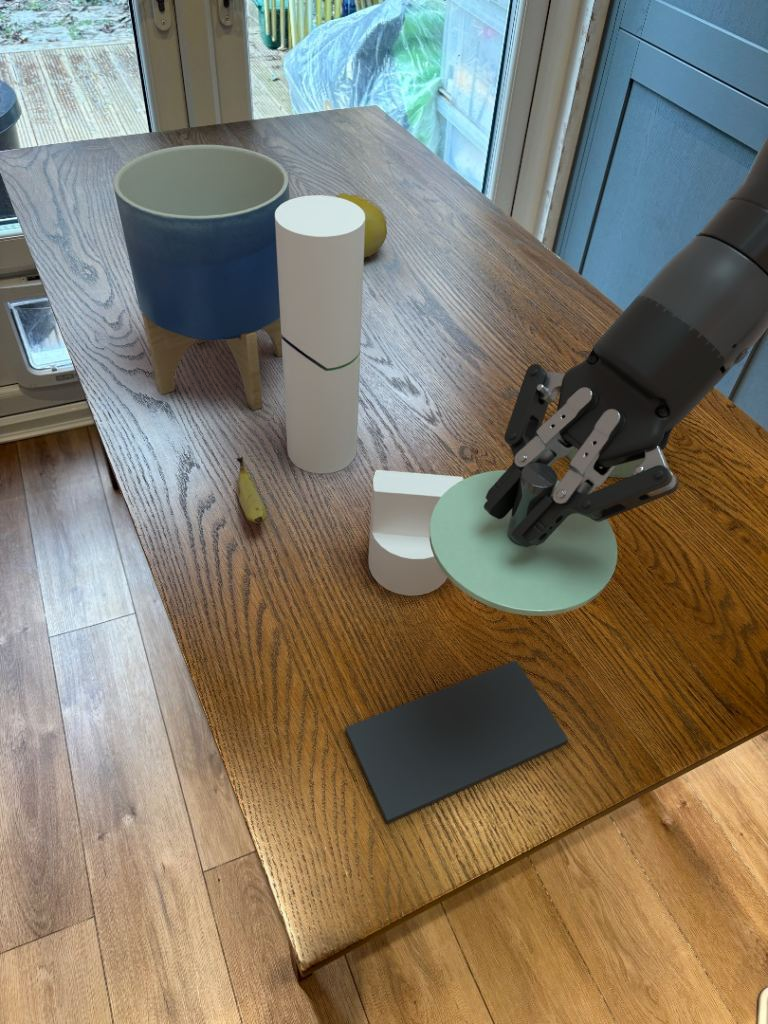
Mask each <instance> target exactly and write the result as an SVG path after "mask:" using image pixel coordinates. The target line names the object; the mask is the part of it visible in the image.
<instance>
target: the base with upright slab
mask: <svg viewBox="0 0 768 1024" xmlns="http://www.w3.org/2000/svg"><path fill="white" fill-rule="evenodd" d="M373 475H374V476H373V479H372V490H371V509H370V521H369V522H370V523H369V524H370V525H369V541H368V555H367V556H368V557H367V562H368V569H369V572H370V574H371V576H372V577H373V579H374V580H375V581H376V582H377V584H378V585H380V586H382V587H383V588H384V589H386V590H387V591H390V592H392V593H394V594H397V595H403V596H408V597H409V596H410V597H411V596H413V597H414V596H422V595H427V594H431V593H432V592H434V591H436V590H438V589H439V588H440V587H441V586H442V585H443V584H444V583H446V581H447V579H448V577H447V576H446V575H445V574H444V572H443V571H442V570H441V568H440V567H439V565H438V563H437V561H436V559H435V558H434V555H433V552H432V549H431V545H430V540H429V527H430V520H431V515H432V513H433V510H434V507H435V506H436V504H437V502H438V500H439V499H440V498H441V497H442V495H443V494H444V493H445V492H446V491H447V490H449V489H450V488H451V487H452V486H454V485H455V484H457V483H458V482H460V481H462V480H464V479H465V478H464V477H463V476H456V475H444V474H433V473H420V472H409V471H397V470H386V469H385V470H383V469H376V470H375V472H374V474H373Z"/></svg>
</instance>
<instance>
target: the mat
mask: <svg viewBox="0 0 768 1024" xmlns="http://www.w3.org/2000/svg"><path fill="white" fill-rule="evenodd" d="M344 730H345V735H346V737H347V739H348V741H349V743H350V745H351V747H352V750H353V752H354V754H355V756H356V759H357V761H358V763H359V765H360V767H361V770H362V772H363V774H364V776H365V779H366V781H367V783H368V785H369V788H370V790H371V792H372V794H373V797H374V798H375V801H376V803H377V805H378V808H379V811H380V812H381V814H382V817H383V819H384V821H385V823H386V824H390V823H393V822H395V821H397V820H399V819H401V818H404V817H407V816H409V815H411V814H413V813H415V812H418V811H419V810H422V809H424V808H426V807H429V806H431V805H432V804H435V803H437V802H440V801H442V800H444V799H446V798H449V797H451V796H453V795H455V794H457V793H459V792H462V791H464V790H466V789H468V788H470V787H473V786H475V785H477V784H480V783H482V782H484V781H486V780H489V779H491V778H493V777H495V776H498V775H500V774H502V773H504V772H506V771H508V770H511V769H513V768H515V767H517V766H521V765H523V764H524V763H527V762H529V761H531V760H533V759H535V758H538V757H540V756H542V755H544V754H547V753H549V752H551V751H554V750H555V749H557V748H560V747H563V746H564V745H567V744H568V742H569V738H568V736H567V735H566V734H565V732H564V731H563V729H562V727H561V726H560V725H559V723H558V721H557V720H556V719H555V717H554V716H553V714H552V712H551V711H550V709H549V707H548V706H547V705H546V703H545V701H544V700H543V698H542V697H541V695H540V694H539V692H538V691H537V689H536V688H535V687H534V684H533V683H532V682H531V680H530V679H529V677H528V676H527V675H526V672H525V671H524V669H523V668H522V667H521V665H520V663H519V662H518V660H513V661H510V662H508V663H505V664H502V665H500V666H497V667H495V668H493V669H490V670H488V671H485V672H483V673H480V674H478V675H475V676H472V677H470V678H467V679H465V680H462V681H460V682H457V683H454V684H452V685H450V686H447V687H444V688H442V689H439V690H437V691H434V692H432V693H429V694H427V695H424V696H422V697H419V698H416V699H414V700H411V701H409V702H406V703H404V704H402V705H399V706H397V707H394V708H391V709H388V710H386V711H384V712H383V711H382V712H381V713H378V714H376V715H374V716H371V717H369V718H366V719H363V720H361V721H358V722H355V723H353V724H351V725H348V726H345V729H344Z"/></svg>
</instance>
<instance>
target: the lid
mask: <svg viewBox="0 0 768 1024" xmlns="http://www.w3.org/2000/svg"><path fill="white" fill-rule="evenodd" d="M506 470H507V469H497V470H491V471H490V470H489V471H485V472H480V473H476V474H474V475H470V476H468V477H466V478H463V479H464V480H462V481H460V482H458V483H457V484H455V485H454V486H452V487H451V488H450V489H449V490H447V491H446V492H445V493H444V494H443V495H442V497H441V498H440V499H439V500H438V502H437V504H436V506H435V507H434V510H433V513H432V515H431V520H430V527H429V540H430V545H431V549H432V552H433V555H434V558H435V559H436V561H437V563H438V565H439V567H440V568H441V570H442V571H443V572H444V574H445V575H446V576H447V579H448V580H450V582H451V583H452V584H453V585H454V586H455V587H457V588H458V589H459V590H460V591H461V592H463V593H464V594H466V595H467V596H469V597H470V598H472V599H474V600H475V601H477V602H479V603H481V604H483V605H485V606H488V607H490V608H493V609H496V610H498V611H502V612H505V613H509V614H514V615H520V616H530V617H545V616H547V617H548V616H556V615H561V614H565V613H569V612H572V611H575V610H578V609H579V608H582V607H584V606H586V605H587V604H589V603H590V602H592V601H594V600H595V599H596V598H597V597H598V596H599V595H601V594H602V592H603V591H604V590H605V589H606V587H608V585H609V583H610V581H611V580H612V577H613V575H614V574H615V571H616V567H617V564H618V543H617V539H616V535H615V533H614V530H613V528H612V525H611V524H610V522H609V521H608V519H606V520H603V521H600V522H596V521H594V520H592V519H591V518H589V517H586V516H584V515H581V514H578V513H574V514H571V515H569V516H568V517H567V518H566V519H565V520H564V521H563V522H562V523H561V524H560V525H559V526H558V528H557V529H556V530H555V531H553V533H552V534H551V535H550V536H549V537H548V538H547V539H546V540H545V541H544V543H542V544H540V545H537V546H536V545H534V544H532V545H531V546H529V547H524V546H522V545H520V544H518V543H517V542H516V541H515V540H514V539H513V538H512V537H511V533H512V532H513V530H514V529H515V528H516V527H517V526H518V525H519V524H520V523H521V522H522V521H523V520H524V518H525V517H526V516H527V515H528V514H529V513H530V512H531V511H532V510H533V509H534V507H535V506H536V505H537V504H538V503H539V502H540V501H541V500H542V499H543V498H544V497H545V495H547V496H548V497H550V498H551V497H552V495H553V491H554V489H555V488H556V487H557V485H558V484H559V483H560V481H561V480H558V479H559V477H558V474H557V472H556V470H555V469H554V468H553V467H551V466H548V465H545V464H542V463H531V464H528V465H526V466H525V467H524V468H523V470H522V473H521V477H520V481H519V485H518V489H517V492H516V496H515V500H514V504H513V508H512V509H511V510H510V511H509V513H508V514H507V515H506V516H505V517H504V518H502V519H497V518H495V517H493V516H491V515H490V514H489V513H488V512H487V511H486V510H485V509H484V504H485V503H486V502H487V501H488V500H487V499H486V495H487V493H488V491H489V490H490V488H491V487H492V486H493V485H494V484H495V483H496V482H497V481H498V479H499V478H500V477H501V476H502V475H503V474H504V473H505V472H506Z"/></svg>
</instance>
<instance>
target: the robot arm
mask: <svg viewBox="0 0 768 1024" xmlns="http://www.w3.org/2000/svg"><path fill="white" fill-rule="evenodd" d="M764 139H765V140H764V141H763V143H762V144H761V146H760V148H759V150H758V151H757V154H756V155H755V158H754V159H753V162H752V163H751V166H750V168H749V170H748V171H747V174H746V176H745V177H744V179H743V181H742V182H741V184H740V186H739V187H738V188H737V189H736V190H735V191H734V192H733V194H732V195H730V196H729V198H728V199H727V200H726V201H725V202H724V203H723V204H722V205H721V207H720V208H719V209H718V210H717V211H716V212H715V213H714V215H712V217H710V219H709V220H708V221H707V222H706V223H705V224H704V226H703V227H702V228H701V229H700V230H699V231H698V233H696V235H695V236H694V237H693V238H692V239H691V240H690V241H689V242H688V243H687V244H686V245H685V246H684V247H683V248H682V249H681V250H679V251H678V252H677V253H676V254H675V255H673V256H672V258H671V259H670V260H668V261H667V262H666V263H665V264H664V266H663V267H661V269H660V270H659V271H658V272H657V273H656V274H655V276H654V277H653V278H652V279H651V280H650V281H649V282H648V283H647V285H645V287H644V288H643V289H642V290H641V291H640V292H639V294H638V295H637V296H636V297H635V298H634V299H633V300H632V301H631V303H629V305H628V306H627V307H626V308H625V310H623V312H622V313H621V314H620V315H619V316H618V317H617V319H616V320H615V321H614V322H613V323H612V324H611V325H610V327H609V328H608V329H607V330H606V331H605V332H604V333H603V334H602V336H601V337H600V338H599V339H598V340H597V341H596V342H595V344H594V345H593V347H592V349H591V352H590V353H589V355H588V356H587V358H586V359H585V360H583V361H582V362H580V363H578V364H576V365H575V366H572V367H570V368H569V369H568V370H567V371H566V372H557V371H550V370H545V369H544V368H543V367H542V365H540V364H539V363H533V364H531V365H529V366H528V368H527V369H526V371H525V374H524V377H523V380H522V383H521V386H520V389H519V392H518V395H517V398H516V401H515V404H514V405H513V410H512V413H511V415H510V419H509V420H508V424H507V427H506V431H505V433H504V437H503V438H504V442H505V443H506V444H508V446H509V448H510V450H511V453H512V456H513V459H512V463H511V464H510V465H509V467H508V468H507V469H505V470H506V472H505V473H504V474H503V475H502V476H501V477H500V478H499V479H498V481H497V482H496V483H495V484H494V485H493V486H492V487H491V488H490V490H489V491H488V493H487V495H486V499H487V500H488V501H487V502H486V503H485V504H484V509H485V510H486V511H487V512H488V513H489V514H490V515H491V516H493V517H495V518H497V519H502V518H504V517H505V516H506V515H507V514H508V513H509V511H510V510H511V509H512V508H513V504H514V500H515V496H516V492H517V489H518V485H519V481H520V477H521V473H522V470H523V468H524V467H525V466H526V465H528V464H531V463H542V464H545V465H548V466H550V467H551V466H552V465H553V464H554V463H556V462H557V461H558V460H559V459H563V458H565V457H567V455H568V454H569V453H570V452H572V451H573V450H574V449H575V448H577V449H578V450H579V451H578V452H577V453H576V455H575V456H574V457H573V459H572V460H570V462H569V464H568V465H569V468H568V470H567V472H566V473H565V474H564V476H563V477H562V479H561V480H559V481H560V483H559V484H558V485H557V487H556V488H555V489H554V491H553V495H552V497H551V498H550V497H548V496H547V495H545V497H544V498H543V499H542V500H541V501H540V502H539V503H538V504H537V505H536V506H535V507H534V509H533V510H532V511H531V512H530V513H529V514H528V515H527V516H526V517H525V518H524V520H523V521H522V522H521V523H520V524H519V525H518V526H517V527H516V528H515V529H514V530H513V532H512V533H511V537H512V538H513V539H514V540H515V541H516V542H517V543H518V544H520V545H522V546H524V547H529V546H531V545H532V544H534V545H536V546H537V545H540V544H542V543H544V541H545V540H546V539H547V538H548V537H549V536H550V535H551V534H552V533H553V531H555V530H556V529H557V528H558V526H559V525H560V524H561V523H562V522H563V521H564V520H565V519H566V518H567V517H568V516H569V515H571V514H574V513H578V514H581V515H584V516H586V517H589V518H591V519H592V520H594V521H596V522H600V521H603V520H606V519H607V520H608V519H611V518H613V517H616V516H618V515H621V514H623V513H626V512H628V511H631V510H633V509H636V508H638V507H640V506H641V507H642V506H643V505H646V504H648V503H651V502H653V501H656V500H658V499H661V498H664V497H666V496H668V495H672V494H674V493H675V492H676V491H678V488H679V485H680V483H679V480H678V478H677V476H676V475H675V474H674V473H673V472H672V471H671V469H670V467H669V464H668V461H667V459H666V456H665V454H664V450H665V448H667V445H668V443H669V439H670V436H671V433H672V431H673V430H674V428H675V427H676V426H677V425H679V423H681V422H682V421H683V420H685V418H686V417H687V416H689V414H690V413H691V412H692V411H693V410H694V409H695V408H696V407H697V406H698V404H700V403H701V401H702V400H703V399H704V398H705V397H706V396H707V395H708V394H709V393H710V392H711V391H712V390H713V389H714V387H715V386H716V385H717V384H718V383H720V382H721V380H722V379H723V378H724V377H725V376H726V375H727V374H728V373H729V372H730V370H731V369H733V367H734V366H736V365H738V364H739V363H741V361H742V360H744V358H745V357H746V356H747V355H748V353H749V350H750V349H751V348H752V347H754V345H755V344H756V343H757V342H758V341H759V340H760V339H761V337H762V336H763V335H764V333H765V332H766V331H767V329H768V135H766V138H764ZM558 395H559V397H558ZM557 397H558V403H557V410H556V412H555V413H554V414H553V415H551V416H550V417H549V418H548V419H547V420H546V421H545V422H544V420H545V417H546V413H547V410H548V407H549V404H552V403H554V402H555V401H556V400H557ZM543 422H544V423H543ZM643 458H644V460H643V462H642V463H641V464H639V465H638V466H636V467H635V469H634V471H633V476H630V477H626V478H623V479H620V480H618V481H615V482H614V483H611V484H609V485H607V486H605V487H601V486H602V485H603V484H604V483H605V482H606V480H607V479H608V478H609V477H608V476H609V475H610V473H611V472H612V471H613V469H614V468H615V467H616V465H620V464H624V463H628V462H631V461H635V460H639V459H643ZM600 487H601V488H600ZM597 488H599V489H597ZM596 489H597V490H596Z"/></svg>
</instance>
